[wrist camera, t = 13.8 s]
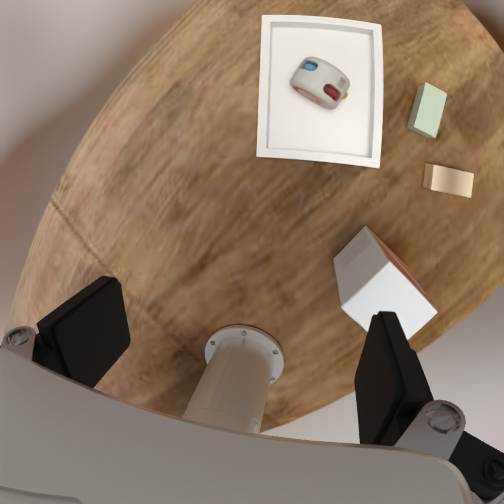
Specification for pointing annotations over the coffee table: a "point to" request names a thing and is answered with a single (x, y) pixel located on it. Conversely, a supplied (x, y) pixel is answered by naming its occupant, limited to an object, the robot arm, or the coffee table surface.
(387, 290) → the small box
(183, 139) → the coffee table surface
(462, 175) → the maple block
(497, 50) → the coffee table surface
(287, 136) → the tray
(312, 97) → the roller toy
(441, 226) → the coffee table surface
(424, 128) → the sage block
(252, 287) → the coffee table surface
